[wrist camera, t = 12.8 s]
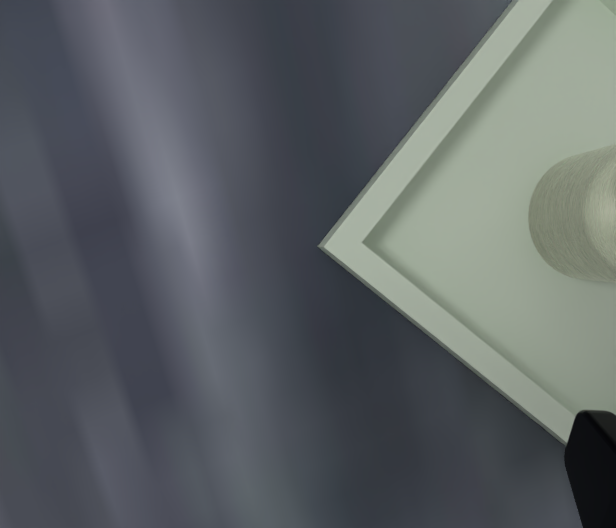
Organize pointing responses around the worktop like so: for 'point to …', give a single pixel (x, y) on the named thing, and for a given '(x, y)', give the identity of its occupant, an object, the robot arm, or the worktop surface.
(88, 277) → the worktop surface
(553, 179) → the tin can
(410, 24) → the worktop surface
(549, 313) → the tray
